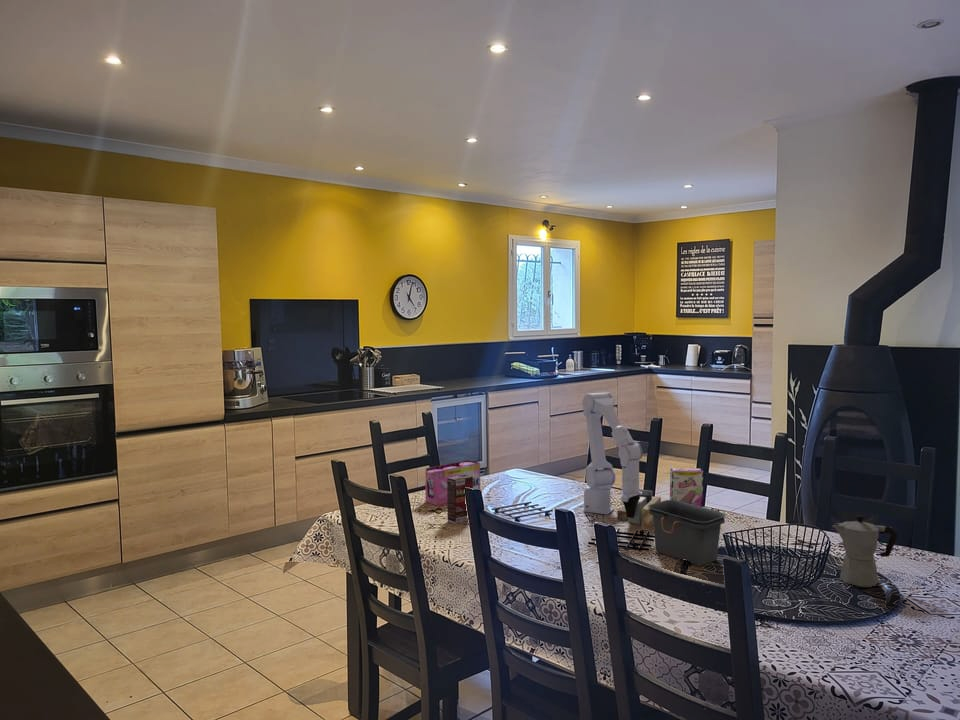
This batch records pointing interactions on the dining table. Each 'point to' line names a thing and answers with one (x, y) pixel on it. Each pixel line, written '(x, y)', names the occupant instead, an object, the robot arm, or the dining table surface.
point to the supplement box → (457, 498)
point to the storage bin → (686, 531)
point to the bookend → (646, 495)
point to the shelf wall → (648, 514)
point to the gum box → (439, 475)
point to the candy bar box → (687, 485)
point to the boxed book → (639, 510)
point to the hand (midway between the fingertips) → (630, 517)
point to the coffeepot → (862, 550)
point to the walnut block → (622, 513)
